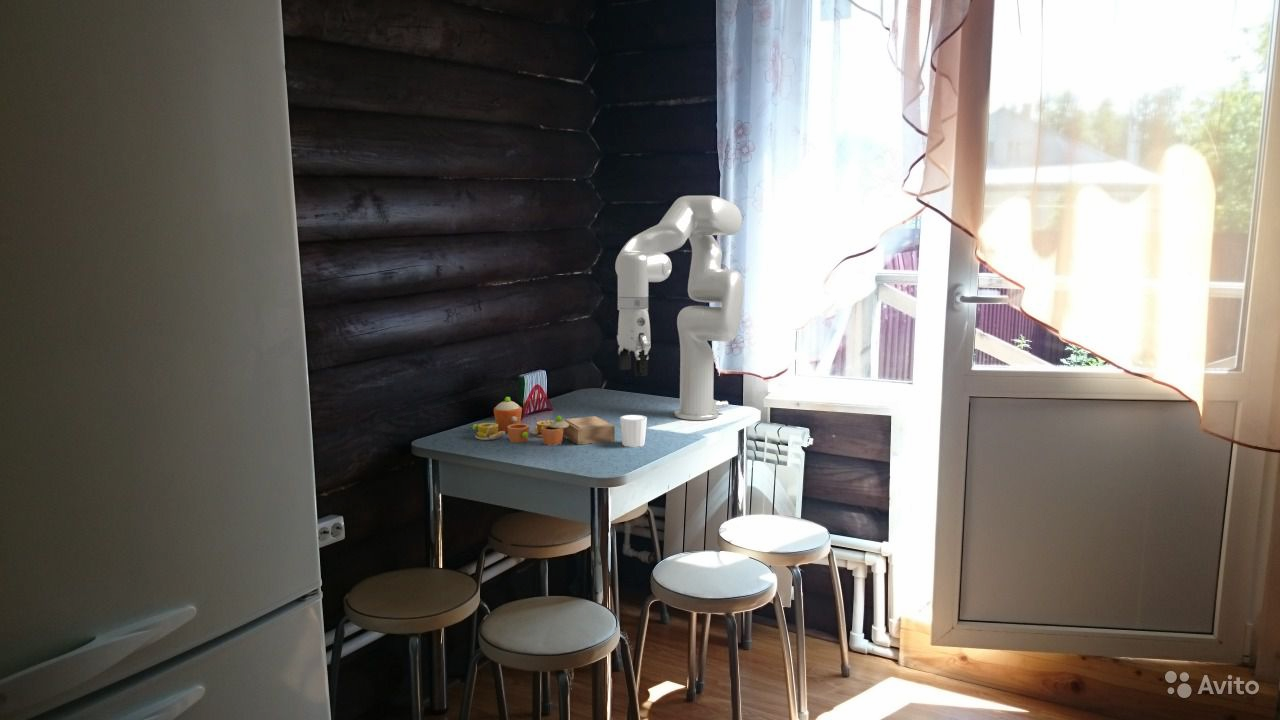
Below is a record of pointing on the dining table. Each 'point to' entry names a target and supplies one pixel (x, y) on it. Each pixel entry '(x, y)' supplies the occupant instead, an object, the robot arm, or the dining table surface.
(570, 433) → the riser
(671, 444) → the dining table surface
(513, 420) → the toy tea set
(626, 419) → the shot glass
